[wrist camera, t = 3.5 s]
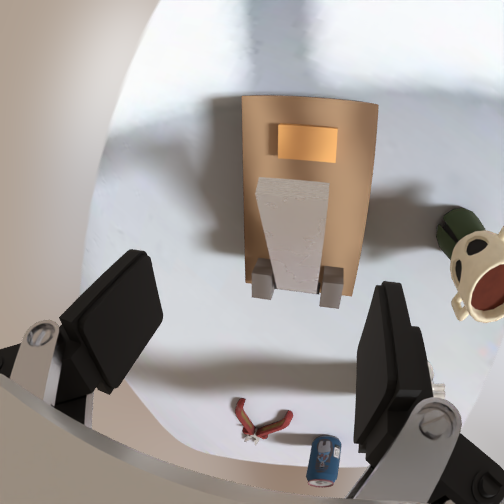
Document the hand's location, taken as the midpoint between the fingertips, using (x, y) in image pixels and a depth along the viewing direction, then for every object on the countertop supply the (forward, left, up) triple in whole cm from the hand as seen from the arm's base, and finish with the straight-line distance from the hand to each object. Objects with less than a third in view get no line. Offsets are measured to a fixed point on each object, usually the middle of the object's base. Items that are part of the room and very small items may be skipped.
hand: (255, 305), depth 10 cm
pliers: (+7, +58, -27) cm, 64 cm away
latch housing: (0, +4, -26) cm, 26 cm away
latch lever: (0, +5, -14) cm, 15 cm away
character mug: (-19, +7, -26) cm, 33 cm away
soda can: (-11, +62, -26) cm, 68 cm away
